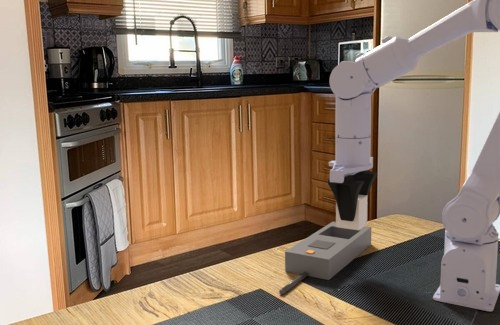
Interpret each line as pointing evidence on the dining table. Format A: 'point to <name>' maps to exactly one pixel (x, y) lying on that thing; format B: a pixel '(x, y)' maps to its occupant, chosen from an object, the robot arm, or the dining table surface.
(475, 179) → the robot arm
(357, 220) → the plug
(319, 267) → the power strip
